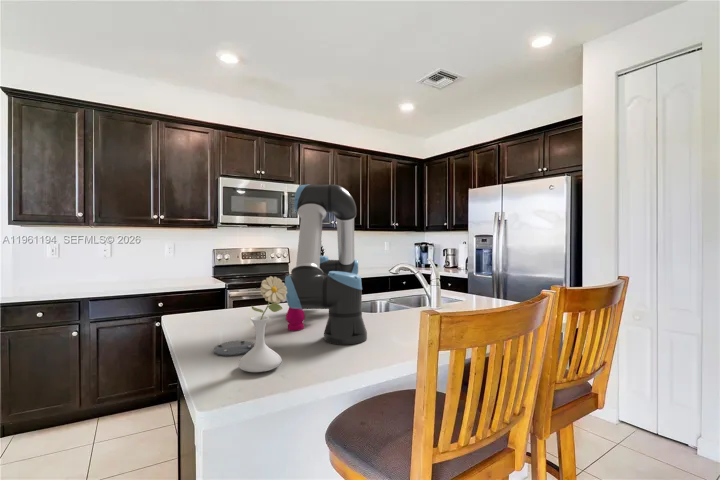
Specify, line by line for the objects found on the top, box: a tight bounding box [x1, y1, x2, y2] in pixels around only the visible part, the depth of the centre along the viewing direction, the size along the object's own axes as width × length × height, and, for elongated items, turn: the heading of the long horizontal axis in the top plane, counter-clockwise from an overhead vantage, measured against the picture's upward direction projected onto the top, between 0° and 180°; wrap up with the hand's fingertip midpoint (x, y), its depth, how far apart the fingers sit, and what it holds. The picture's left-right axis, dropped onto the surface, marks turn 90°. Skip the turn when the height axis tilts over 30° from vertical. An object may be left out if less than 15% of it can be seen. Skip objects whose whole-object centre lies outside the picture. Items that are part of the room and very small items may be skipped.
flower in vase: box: [237, 275, 287, 373], centre depth 97 cm, size 13×11×25 cm
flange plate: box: [213, 339, 255, 357], centre depth 113 cm, size 12×12×2 cm
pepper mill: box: [285, 306, 306, 332], centre depth 138 cm, size 7×7×20 cm
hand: (298, 299), depth 142 cm, fingers open, 13 cm apart
